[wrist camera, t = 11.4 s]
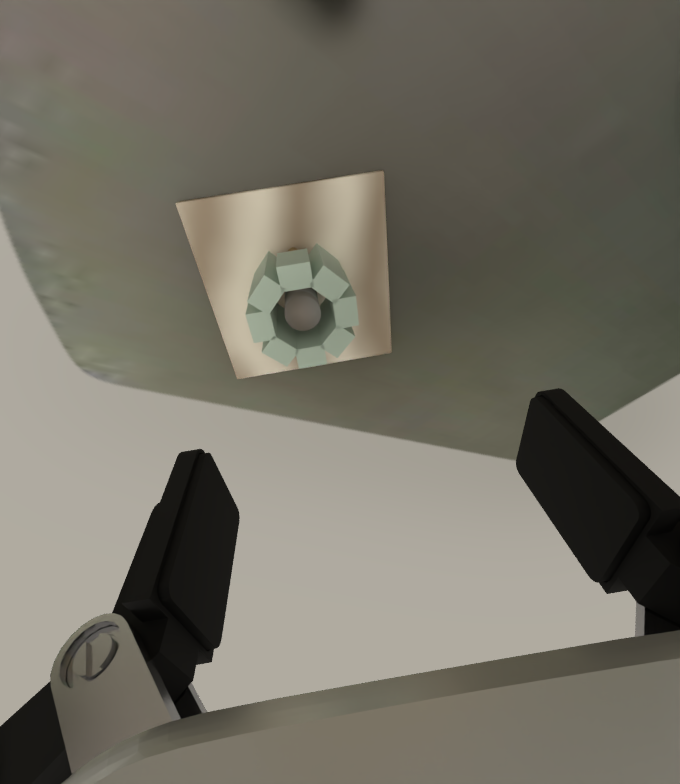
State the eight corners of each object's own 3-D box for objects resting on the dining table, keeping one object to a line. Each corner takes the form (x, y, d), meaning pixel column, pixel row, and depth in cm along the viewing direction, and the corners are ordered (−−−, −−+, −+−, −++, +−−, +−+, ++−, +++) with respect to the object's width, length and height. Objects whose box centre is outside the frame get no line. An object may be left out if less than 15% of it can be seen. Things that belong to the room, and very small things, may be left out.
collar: (339, 234, 25) (351, 255, 21) (349, 323, 29) (362, 357, 25) (243, 250, 25) (233, 274, 20) (267, 337, 29) (263, 375, 24)
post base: (380, 170, 24) (404, 175, 19) (389, 347, 32) (407, 382, 28) (179, 201, 24) (151, 214, 19) (238, 373, 32) (230, 413, 27)
